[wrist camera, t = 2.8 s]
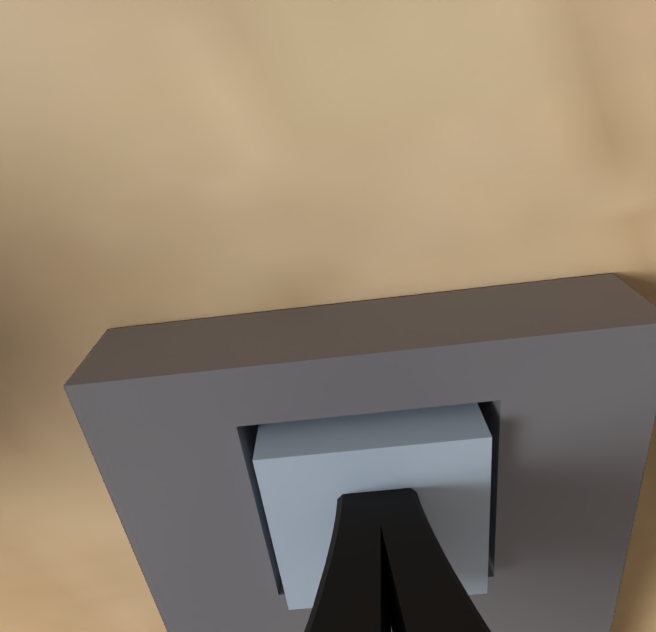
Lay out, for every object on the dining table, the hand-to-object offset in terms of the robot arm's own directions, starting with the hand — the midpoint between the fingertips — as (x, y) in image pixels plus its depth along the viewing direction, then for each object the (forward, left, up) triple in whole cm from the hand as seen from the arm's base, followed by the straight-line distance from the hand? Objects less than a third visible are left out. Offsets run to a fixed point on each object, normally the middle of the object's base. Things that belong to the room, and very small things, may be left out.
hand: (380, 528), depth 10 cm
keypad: (-7, 0, -2) cm, 7 cm away
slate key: (0, 0, -2) cm, 2 cm away
